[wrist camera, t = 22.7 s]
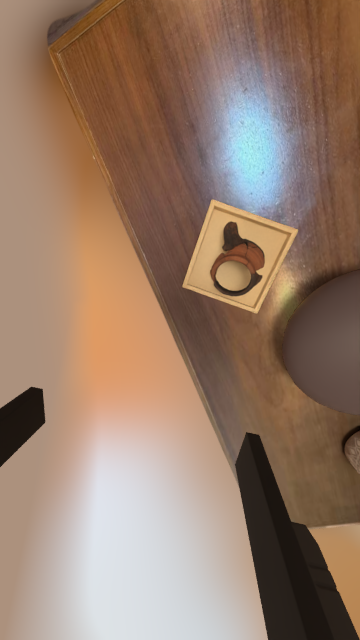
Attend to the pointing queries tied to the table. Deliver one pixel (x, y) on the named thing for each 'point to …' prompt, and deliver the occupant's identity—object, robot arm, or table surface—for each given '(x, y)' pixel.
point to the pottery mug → (239, 258)
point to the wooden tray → (233, 273)
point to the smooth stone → (327, 344)
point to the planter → (353, 450)
